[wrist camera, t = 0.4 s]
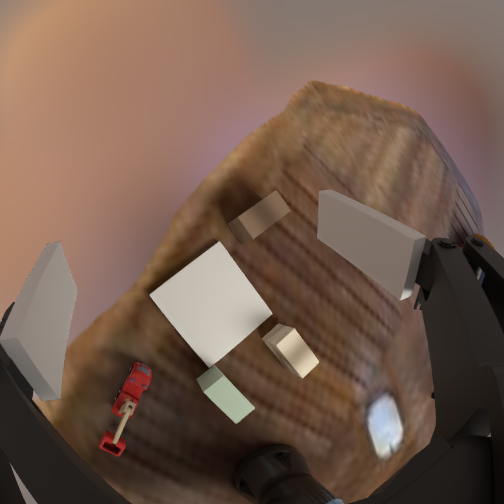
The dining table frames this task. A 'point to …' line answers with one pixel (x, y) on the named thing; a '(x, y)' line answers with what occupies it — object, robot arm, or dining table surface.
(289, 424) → the dining table surface
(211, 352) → the grey plate
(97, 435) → the dining table surface
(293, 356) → the birch brick
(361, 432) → the dining table surface
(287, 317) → the dining table surface
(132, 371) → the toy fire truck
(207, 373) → the sage brick
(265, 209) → the walnut brick
